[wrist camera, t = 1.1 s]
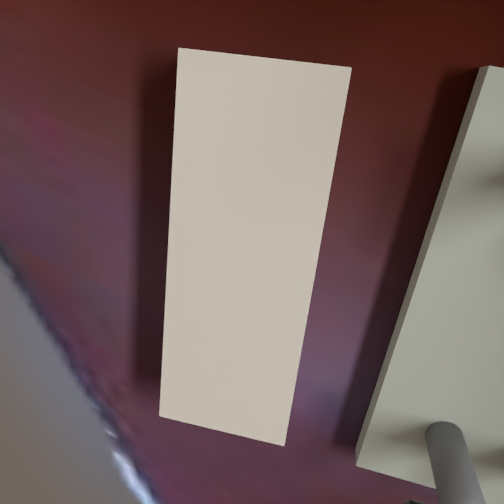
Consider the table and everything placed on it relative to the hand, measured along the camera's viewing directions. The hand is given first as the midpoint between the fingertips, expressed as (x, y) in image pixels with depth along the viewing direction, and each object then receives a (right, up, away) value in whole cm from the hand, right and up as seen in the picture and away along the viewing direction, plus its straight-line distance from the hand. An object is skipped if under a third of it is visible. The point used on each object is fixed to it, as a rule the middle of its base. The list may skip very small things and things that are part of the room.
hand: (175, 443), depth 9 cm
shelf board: (+2, +4, +12) cm, 13 cm away
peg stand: (+13, +1, +10) cm, 16 cm away
